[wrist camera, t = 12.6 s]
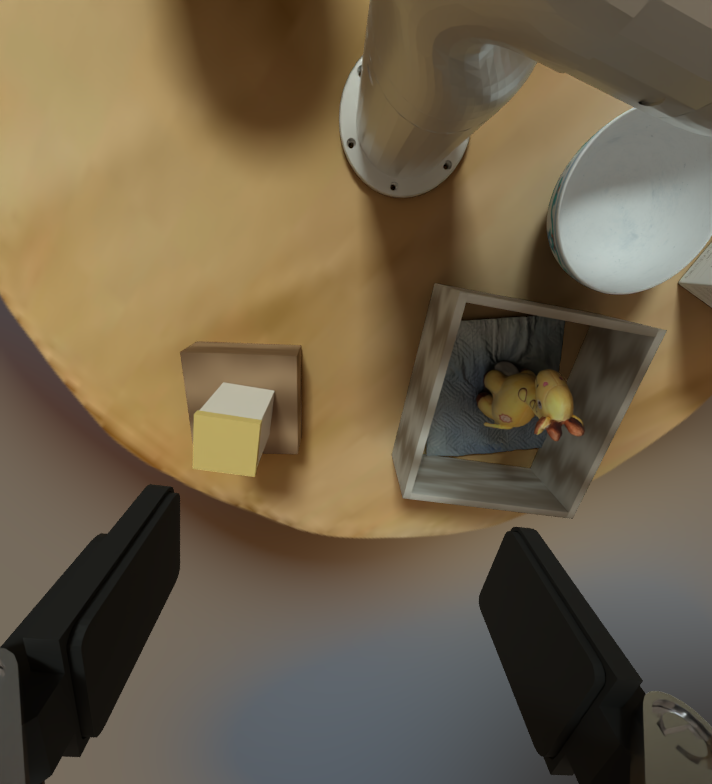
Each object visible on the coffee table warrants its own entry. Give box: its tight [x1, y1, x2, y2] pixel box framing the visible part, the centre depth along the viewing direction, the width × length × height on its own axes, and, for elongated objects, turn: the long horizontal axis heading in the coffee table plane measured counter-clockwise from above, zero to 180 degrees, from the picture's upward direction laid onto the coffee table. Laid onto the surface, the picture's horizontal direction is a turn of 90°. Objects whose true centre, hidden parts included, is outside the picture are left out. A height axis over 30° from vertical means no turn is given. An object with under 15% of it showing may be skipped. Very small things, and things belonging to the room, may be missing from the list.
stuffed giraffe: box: [427, 315, 585, 456], centre depth 38 cm, size 16×18×16 cm
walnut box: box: [180, 342, 302, 454], centre depth 42 cm, size 12×12×5 cm
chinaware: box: [547, 107, 712, 295], centre depth 34 cm, size 15×15×8 cm
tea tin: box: [193, 382, 275, 477], centre depth 36 cm, size 6×6×8 cm
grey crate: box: [392, 283, 667, 519], centre depth 41 cm, size 23×21×9 cm
